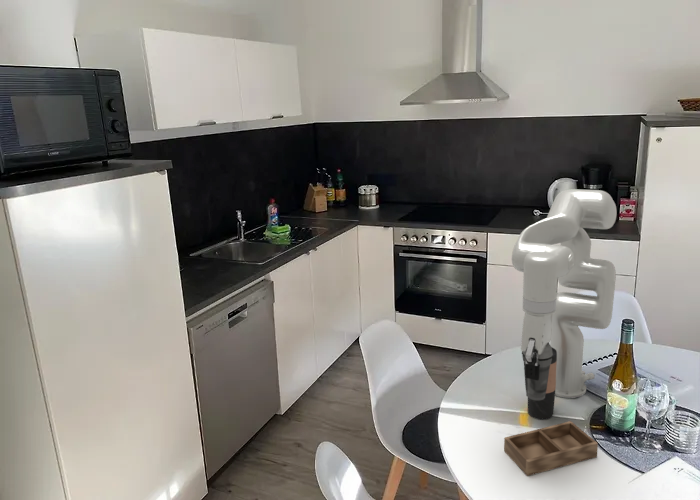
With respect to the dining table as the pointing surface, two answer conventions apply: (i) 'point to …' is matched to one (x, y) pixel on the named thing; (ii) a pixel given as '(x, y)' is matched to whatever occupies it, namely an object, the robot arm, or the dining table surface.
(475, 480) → the dining table surface
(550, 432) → the tray
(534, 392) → the beverage cup
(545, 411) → the travel mug
